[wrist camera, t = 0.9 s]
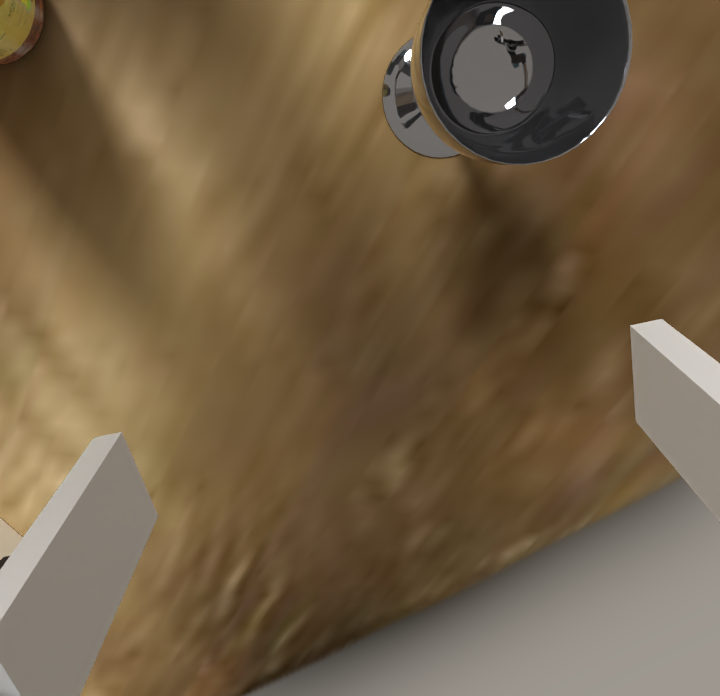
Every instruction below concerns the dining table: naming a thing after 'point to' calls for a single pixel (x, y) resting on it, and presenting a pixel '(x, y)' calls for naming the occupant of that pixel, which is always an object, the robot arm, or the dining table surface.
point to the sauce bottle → (19, 27)
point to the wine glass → (508, 77)
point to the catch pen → (8, 539)
